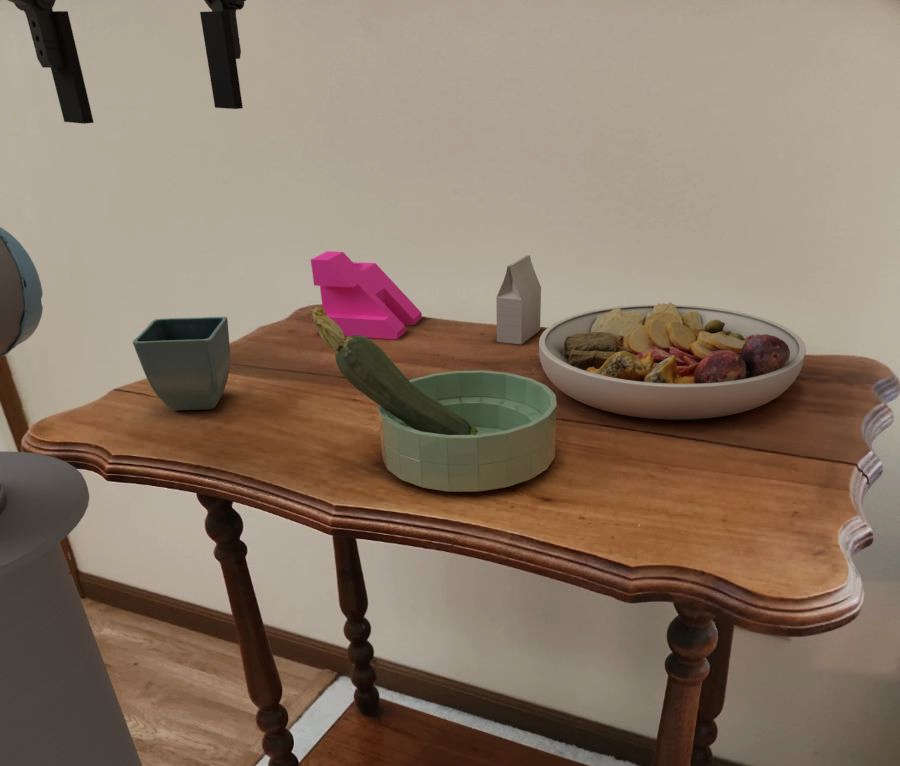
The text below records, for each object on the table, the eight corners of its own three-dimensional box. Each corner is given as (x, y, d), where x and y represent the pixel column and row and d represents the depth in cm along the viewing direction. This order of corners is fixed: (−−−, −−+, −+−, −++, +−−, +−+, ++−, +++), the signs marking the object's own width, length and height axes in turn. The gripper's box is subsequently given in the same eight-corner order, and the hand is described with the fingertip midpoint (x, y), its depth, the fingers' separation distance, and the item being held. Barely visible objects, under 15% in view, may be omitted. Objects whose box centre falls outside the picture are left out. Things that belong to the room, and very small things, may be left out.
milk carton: (540, 330, 115) (541, 255, 110) (521, 344, 110) (522, 267, 105) (516, 327, 117) (516, 254, 111) (496, 341, 112) (496, 265, 106)
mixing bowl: (348, 466, 81) (341, 409, 78) (456, 412, 92) (455, 359, 88) (483, 515, 72) (482, 453, 68) (587, 448, 82) (590, 392, 79)
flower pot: (226, 416, 93) (210, 338, 88) (151, 419, 93) (130, 341, 88) (242, 389, 101) (228, 315, 95) (172, 391, 101) (154, 318, 96)
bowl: (487, 388, 97) (486, 322, 93) (630, 328, 114) (635, 270, 110) (710, 457, 80) (723, 379, 75) (841, 374, 97) (858, 306, 92)
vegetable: (468, 465, 79) (299, 331, 71) (448, 468, 83) (286, 342, 75) (490, 428, 80) (326, 292, 71) (469, 433, 84) (311, 304, 75)
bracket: (320, 334, 118) (310, 259, 112) (349, 314, 126) (341, 243, 120) (396, 339, 114) (391, 262, 108) (421, 318, 122) (417, 245, 116)
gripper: (-103, -350, 41) (30, 132, 53) (274, -251, 57) (309, 104, 69) (-160, -316, 45) (-24, 126, 57) (208, -231, 60) (252, 101, 73)
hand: (159, 115), depth 63 cm, fingers open, 13 cm apart
